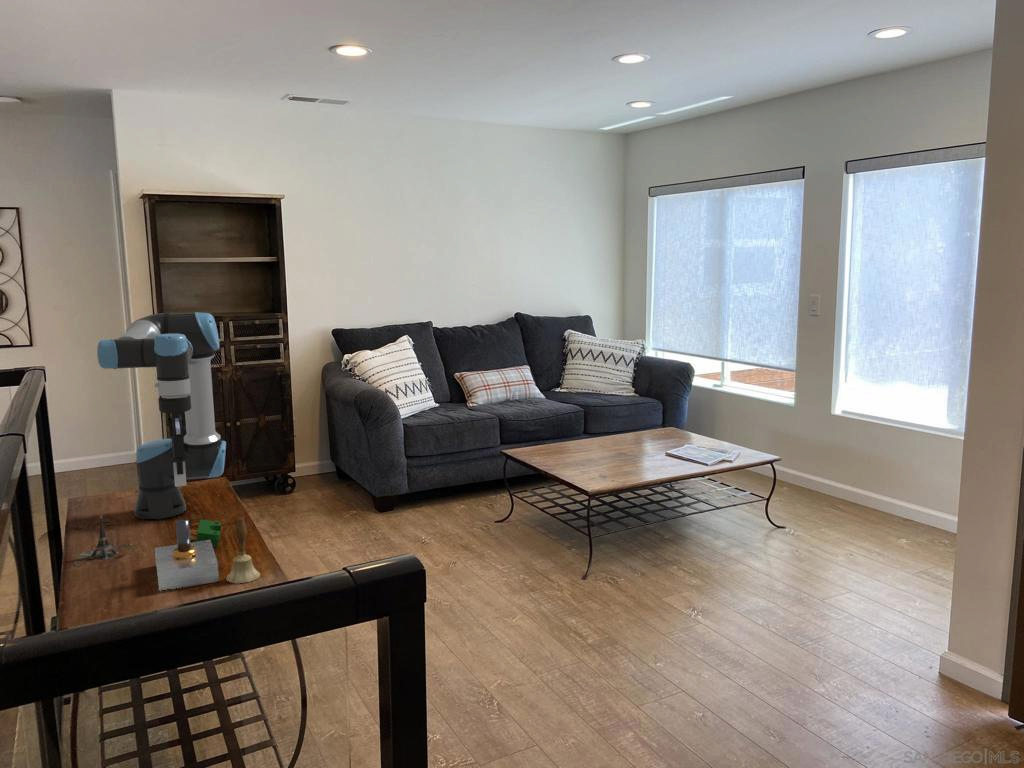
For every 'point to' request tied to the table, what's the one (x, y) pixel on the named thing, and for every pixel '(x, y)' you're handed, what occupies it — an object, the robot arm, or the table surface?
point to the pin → (183, 541)
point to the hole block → (186, 566)
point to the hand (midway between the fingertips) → (180, 485)
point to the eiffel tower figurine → (100, 547)
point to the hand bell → (242, 560)
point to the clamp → (209, 531)
